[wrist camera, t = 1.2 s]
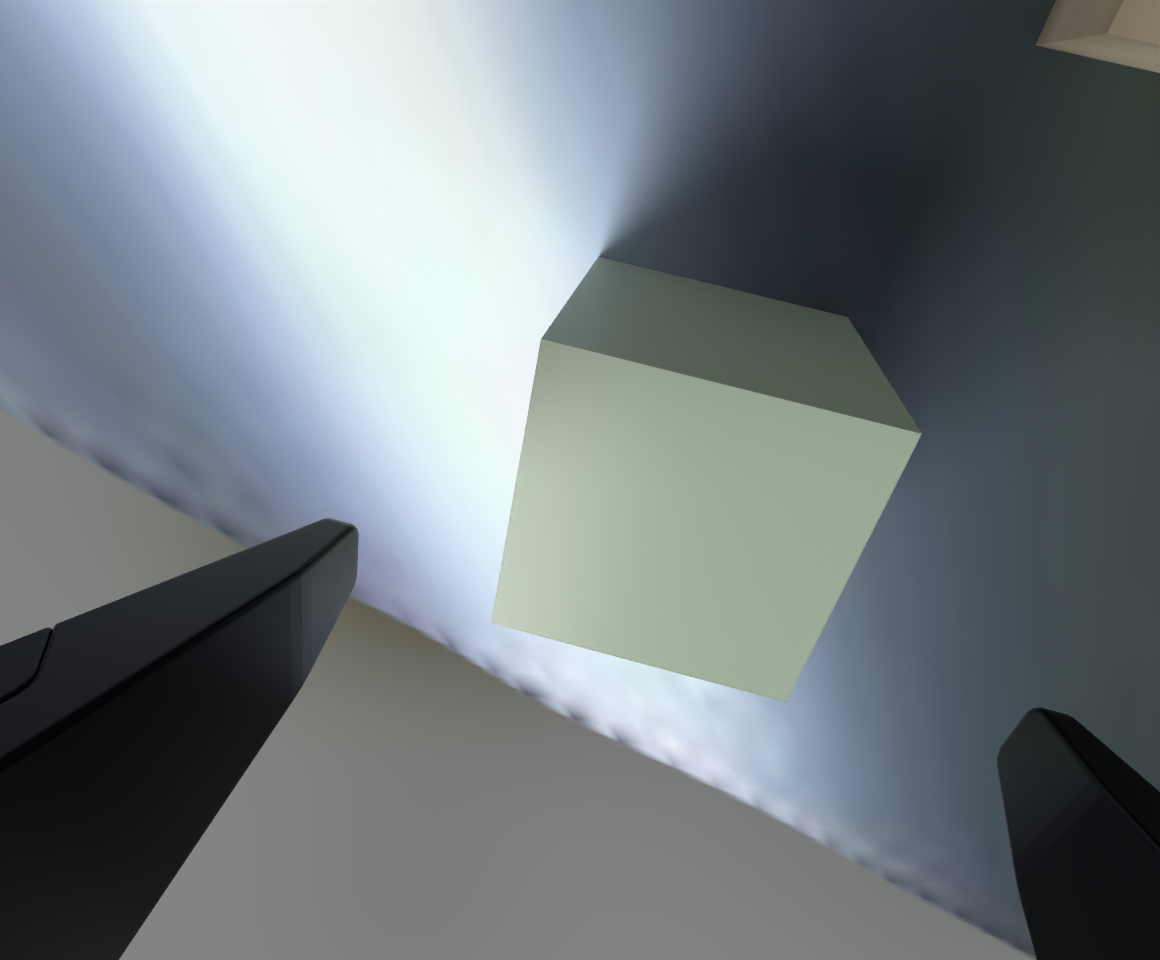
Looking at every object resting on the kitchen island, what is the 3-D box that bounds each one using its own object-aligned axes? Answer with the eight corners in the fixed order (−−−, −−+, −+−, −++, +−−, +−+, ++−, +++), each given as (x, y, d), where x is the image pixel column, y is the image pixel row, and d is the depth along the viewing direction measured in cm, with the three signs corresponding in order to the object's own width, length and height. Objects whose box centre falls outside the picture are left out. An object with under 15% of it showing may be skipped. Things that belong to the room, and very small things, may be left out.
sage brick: (847, 316, 15) (921, 434, 10) (763, 523, 18) (786, 702, 12) (598, 255, 15) (540, 338, 10) (554, 470, 18) (490, 623, 13)
